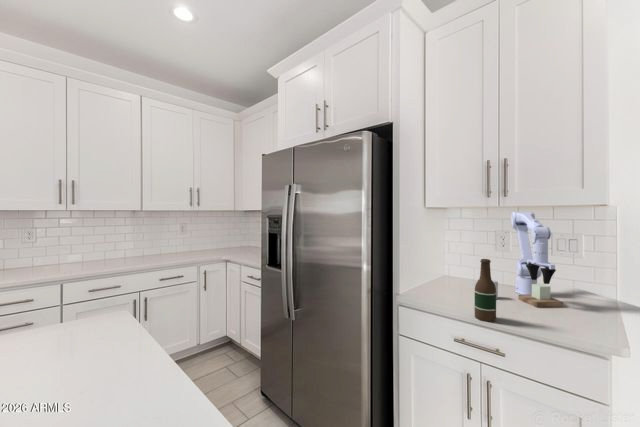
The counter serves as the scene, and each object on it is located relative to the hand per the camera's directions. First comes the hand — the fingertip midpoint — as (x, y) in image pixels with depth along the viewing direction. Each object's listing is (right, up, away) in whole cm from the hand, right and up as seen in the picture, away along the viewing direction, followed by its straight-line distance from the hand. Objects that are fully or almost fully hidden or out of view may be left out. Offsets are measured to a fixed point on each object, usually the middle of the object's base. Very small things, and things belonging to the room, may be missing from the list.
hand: (540, 281), depth 140 cm
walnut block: (0, -11, 0) cm, 11 cm away
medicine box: (-19, -10, +9) cm, 24 cm away
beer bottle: (-36, -11, -19) cm, 42 cm away
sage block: (0, -8, 0) cm, 8 cm away
